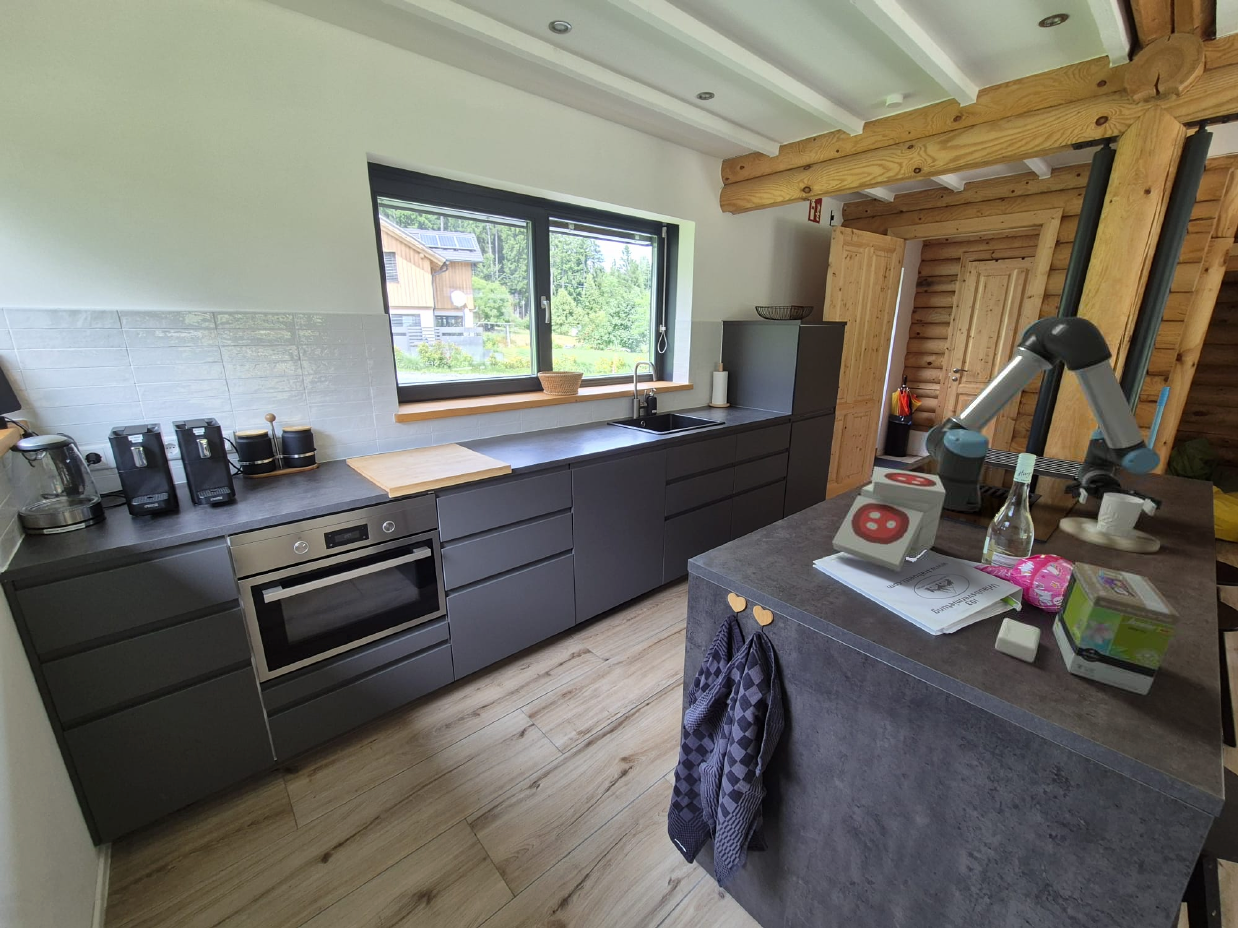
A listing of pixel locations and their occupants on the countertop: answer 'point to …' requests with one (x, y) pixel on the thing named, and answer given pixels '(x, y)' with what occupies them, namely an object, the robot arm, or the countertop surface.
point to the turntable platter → (1109, 536)
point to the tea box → (1114, 627)
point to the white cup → (1119, 514)
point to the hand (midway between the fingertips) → (1117, 504)
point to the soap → (1018, 640)
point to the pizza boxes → (892, 518)
